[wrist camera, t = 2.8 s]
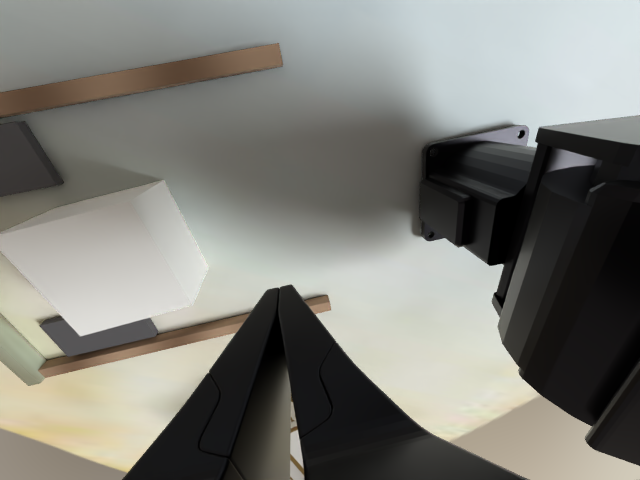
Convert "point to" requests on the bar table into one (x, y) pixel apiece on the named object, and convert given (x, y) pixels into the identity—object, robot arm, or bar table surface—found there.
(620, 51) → the bar table surface
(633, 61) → the bar table surface
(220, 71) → the wood-trimmed serving tray
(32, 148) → the dark grey rectangular slab
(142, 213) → the block
